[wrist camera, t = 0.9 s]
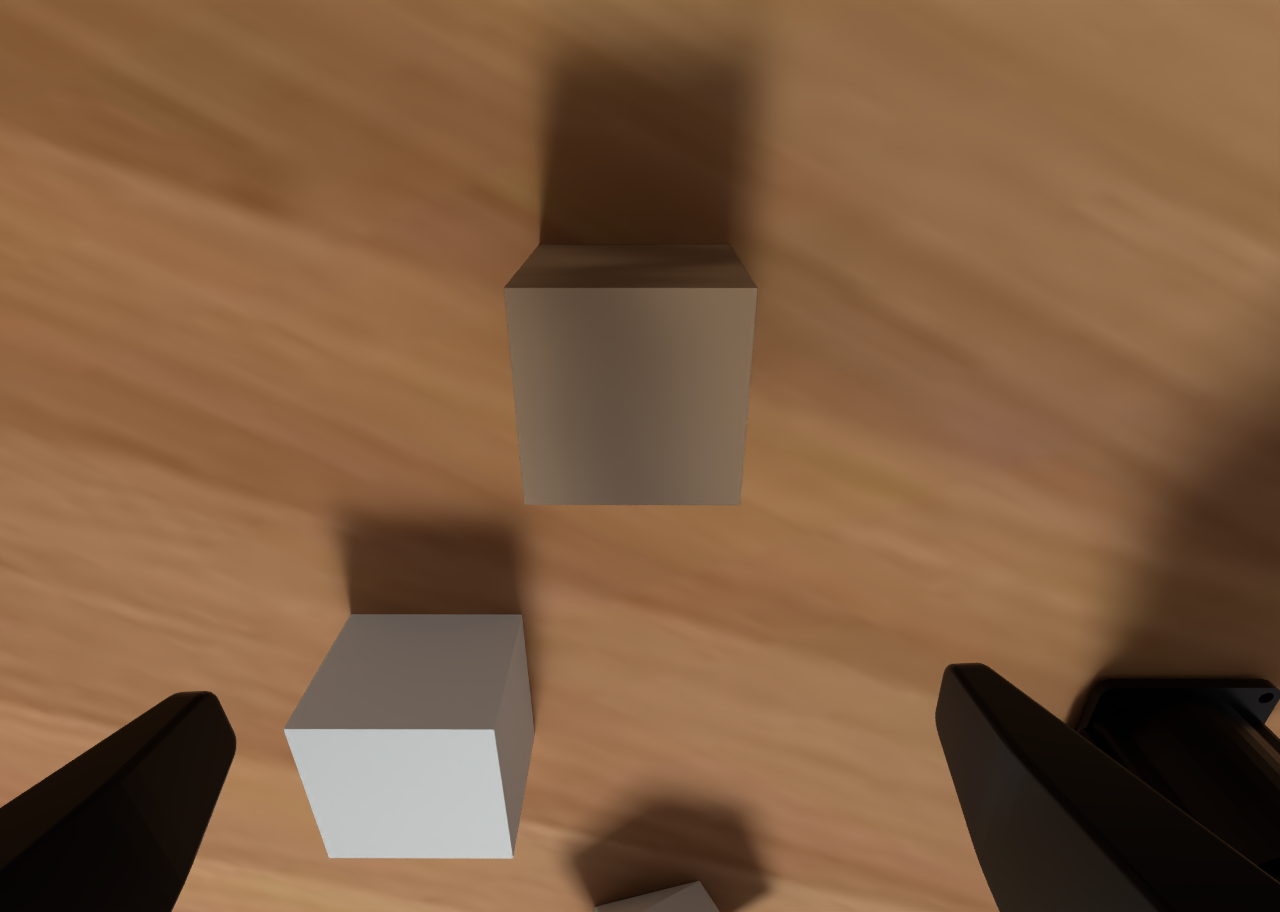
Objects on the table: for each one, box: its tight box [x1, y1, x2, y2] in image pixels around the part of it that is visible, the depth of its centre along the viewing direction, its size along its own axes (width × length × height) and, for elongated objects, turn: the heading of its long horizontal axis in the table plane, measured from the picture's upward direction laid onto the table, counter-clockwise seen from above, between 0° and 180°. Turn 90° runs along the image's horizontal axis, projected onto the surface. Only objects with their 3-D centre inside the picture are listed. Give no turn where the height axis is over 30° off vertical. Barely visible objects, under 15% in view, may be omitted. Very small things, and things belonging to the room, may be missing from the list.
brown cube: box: [504, 244, 757, 505], centre depth 16 cm, size 5×5×5 cm
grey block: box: [284, 614, 535, 858], centre depth 22 cm, size 6×6×5 cm
